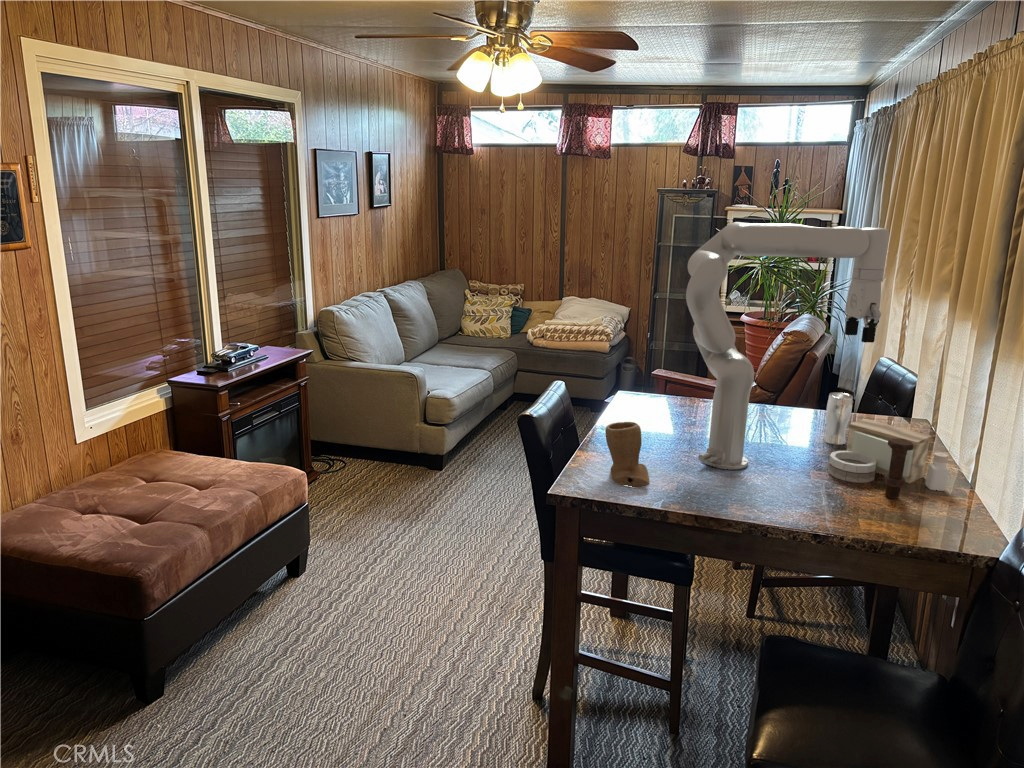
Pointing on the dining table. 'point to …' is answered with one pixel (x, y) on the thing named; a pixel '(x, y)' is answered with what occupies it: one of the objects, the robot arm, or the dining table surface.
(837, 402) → the silver tall cylinder
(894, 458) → the bolt
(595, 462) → the dining table surface
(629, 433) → the tan hollow piece
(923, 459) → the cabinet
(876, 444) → the grey piece
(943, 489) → the pepper shaker
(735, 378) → the robot arm
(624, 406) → the dining table surface
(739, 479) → the dining table surface
